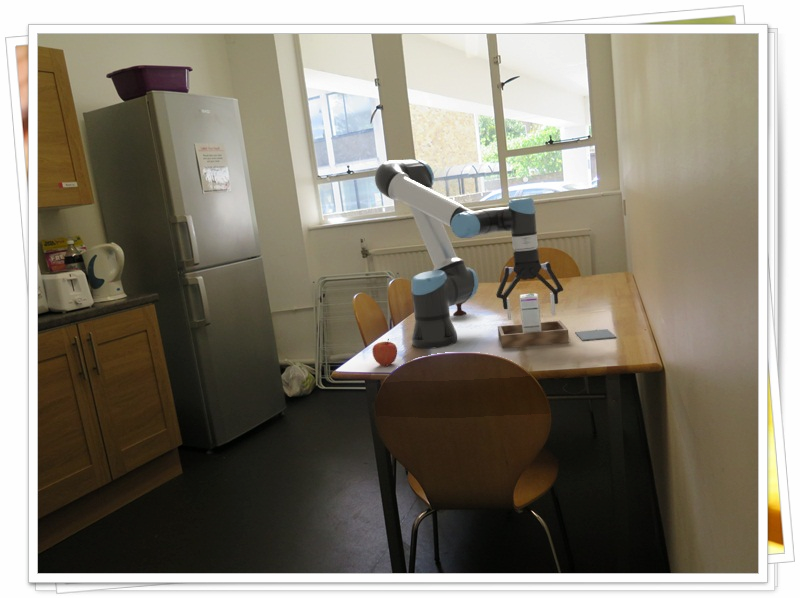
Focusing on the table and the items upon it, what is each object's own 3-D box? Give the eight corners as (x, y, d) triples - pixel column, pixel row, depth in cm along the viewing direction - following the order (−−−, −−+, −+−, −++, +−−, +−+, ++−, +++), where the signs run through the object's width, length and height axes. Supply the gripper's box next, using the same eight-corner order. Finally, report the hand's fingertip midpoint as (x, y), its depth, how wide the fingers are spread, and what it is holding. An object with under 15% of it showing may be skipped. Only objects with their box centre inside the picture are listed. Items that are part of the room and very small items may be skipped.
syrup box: (542, 342, 176) (539, 295, 173) (522, 343, 177) (519, 297, 175) (541, 337, 181) (538, 292, 179) (522, 338, 182) (519, 294, 180)
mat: (582, 340, 172) (582, 339, 172) (575, 333, 182) (575, 331, 181) (616, 338, 171) (616, 336, 171) (607, 330, 181) (607, 329, 180)
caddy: (502, 348, 174) (501, 335, 173) (498, 337, 187) (497, 326, 186) (569, 342, 172) (568, 329, 171) (560, 332, 184) (560, 320, 184)
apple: (376, 362, 174) (372, 337, 173) (399, 360, 173) (396, 335, 172) (372, 369, 167) (369, 343, 166) (397, 367, 166) (394, 341, 165)
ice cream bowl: (465, 310, 237) (462, 274, 235) (477, 314, 227) (474, 277, 224) (442, 314, 234) (438, 278, 232) (453, 318, 224) (449, 281, 221)
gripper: (485, 254, 172) (492, 323, 175) (569, 245, 169) (574, 314, 173) (483, 252, 179) (490, 318, 183) (564, 243, 177) (569, 310, 180)
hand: (531, 316), depth 178 cm, fingers open, 13 cm apart
